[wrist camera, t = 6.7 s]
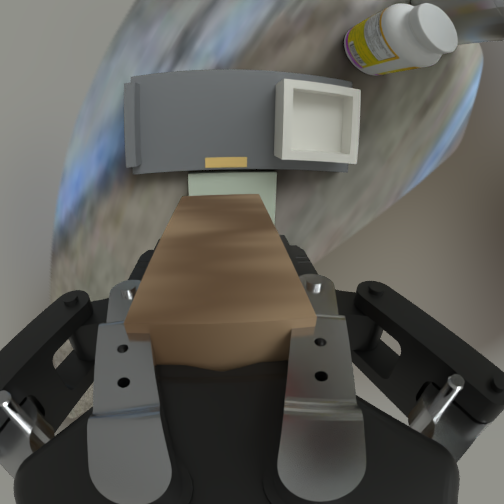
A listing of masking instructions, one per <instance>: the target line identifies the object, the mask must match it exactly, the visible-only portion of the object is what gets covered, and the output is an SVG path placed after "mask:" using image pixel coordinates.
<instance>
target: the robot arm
mask: <svg viewBox="0 0 504 504" xmlns="http://www.w3.org/2000/svg"><path fill="white" fill-rule="evenodd" d="M423 3H430V4H433V5H435V6H437V7H439V8H440V9H441V10H442V11H443V12H445V14H446V15H447V16H448V17H449V18H450V20H451V21H452V23H453V25H454V27H455V30H456V33H457V37H458V44H457V45H461V44H469V43H479V42H491V41H503V40H504V0H411V5H412V6H418V5H420V4H423ZM279 236H280V238H281V240H282V242H283V244H284V247H285V249H286V251H287V253H288V255H289V257H290V259H291V261H292V264H293V266H294V268H295V270H296V272H297V274H298V276H299V279H300V281H301V283H302V285H303V287H304V289H305V292H306V294H307V296H308V298H309V300H310V303H311V305H312V307H313V309H314V312H315V314H316V316H317V320H316V325H315V326H314V327H304V328H293V329H292V330H291V337H290V345H289V355H288V360H284V361H273V362H260V363H256V364H252V365H248V366H244V367H240V368H236V369H232V370H228V371H214V370H209V369H203V368H198V367H193V366H188V365H158V364H156V354H155V350H154V347H153V344H152V340H151V337H150V333H126V330H125V327H124V321H125V319H126V316H127V314H128V311H129V309H130V306H131V304H132V301H133V299H134V297H135V294H136V292H137V290H138V287H139V285H140V283H141V280H142V278H143V276H144V274H145V271H146V269H147V267H148V265H149V262H150V260H151V258H152V256H153V254H154V252H155V250H156V247H157V245H158V243H159V241H160V239H159V240H158V242H157V245H156V247H155V249H154V250H148V251H146V252H145V253H144V254H142V255H141V256H140V258H139V260H138V263H137V264H136V266H135V268H134V269H133V271H132V273H131V275H130V277H129V279H128V281H124V282H121V283H119V284H117V285H115V286H114V287H113V288H112V289H111V291H110V295H109V298H107V299H103V300H98V301H93V302H91V301H90V298H89V295H88V294H87V293H86V292H84V291H80V290H76V291H71V292H68V293H66V294H64V295H62V296H61V297H59V298H58V299H57V300H56V301H55V302H53V303H52V304H51V305H50V306H49V307H48V308H46V309H45V310H44V311H43V312H42V313H41V314H39V315H38V316H37V317H36V318H35V319H34V320H33V321H32V322H30V323H29V324H28V325H27V326H26V327H25V328H24V329H23V330H22V331H21V332H20V333H18V334H17V335H16V336H15V337H14V338H13V339H12V340H11V341H10V342H9V343H8V344H7V345H6V346H5V347H4V348H3V349H2V350H1V351H0V464H1V465H2V466H3V467H4V469H5V470H6V471H7V472H8V473H9V474H10V475H11V476H12V477H13V478H14V497H15V500H16V504H457V502H458V490H459V480H460V478H459V470H458V466H457V461H458V460H459V459H460V458H461V457H462V456H463V454H464V453H465V452H466V451H467V449H468V448H469V447H470V446H471V444H472V443H473V442H474V440H475V439H476V438H477V437H478V436H479V435H480V434H481V433H482V432H483V431H484V430H485V429H486V428H487V427H488V426H489V425H490V424H491V423H492V421H494V419H495V418H496V417H497V416H498V415H499V414H500V413H501V412H502V411H503V410H504V372H503V371H501V370H500V369H499V368H498V367H497V366H495V365H494V364H493V363H491V362H490V361H489V360H488V359H486V358H485V357H484V356H483V355H482V354H480V353H479V352H478V351H476V350H475V349H474V348H472V347H471V346H470V345H469V344H467V343H466V342H465V341H463V340H462V339H461V338H459V337H458V336H457V335H455V334H454V333H453V332H451V331H450V330H449V329H447V328H446V327H445V326H443V325H442V324H441V323H439V322H438V321H437V320H435V319H434V318H433V317H431V316H430V315H428V314H427V313H426V312H424V311H423V310H421V309H420V308H418V307H417V306H416V305H414V304H413V303H412V302H410V301H409V300H407V299H406V298H404V297H403V296H401V295H400V294H399V293H397V292H396V291H394V290H393V289H391V288H390V287H389V286H387V285H385V284H383V283H380V282H376V281H365V282H362V283H360V284H359V285H358V287H357V291H356V293H355V292H346V291H339V290H335V287H334V284H333V282H332V281H331V280H330V279H328V278H327V277H325V276H321V275H318V274H317V272H316V270H315V268H314V267H313V265H312V263H311V262H310V260H309V258H308V257H307V255H306V253H305V251H304V250H303V249H301V248H300V247H298V246H296V245H294V246H290V245H289V243H288V241H287V239H286V237H285V236H284V235H279ZM383 330H385V331H386V332H387V333H388V334H389V335H391V336H392V337H393V338H394V339H395V340H397V341H398V343H399V344H400V346H401V355H400V356H399V355H398V354H396V353H395V352H394V351H393V350H392V349H391V348H390V347H388V346H387V345H386V344H385V343H384V342H383V341H382V340H380V338H381V335H382V332H383ZM68 339H69V341H70V343H71V345H72V347H73V349H74V350H73V351H72V352H71V353H70V354H69V355H68V356H67V357H66V358H65V360H64V361H63V362H62V363H61V364H60V365H59V366H58V367H57V368H56V370H55V368H54V366H53V361H52V360H53V356H54V354H55V352H56V351H57V350H58V349H59V348H60V347H61V346H62V345H63V344H64V343H65V342H66V341H67V340H68ZM352 362H353V363H354V364H355V365H356V366H357V367H358V368H359V369H360V370H361V371H362V372H363V373H364V374H365V375H366V376H367V377H368V378H369V379H370V380H371V381H372V382H373V383H374V384H375V385H376V386H377V387H378V388H379V389H380V390H381V391H382V392H383V393H384V394H385V395H386V396H387V397H388V398H389V399H390V400H391V401H392V402H393V403H394V404H395V405H396V406H397V407H398V408H399V409H400V410H401V411H402V412H403V413H404V414H405V415H406V416H407V417H408V423H409V426H410V427H409V426H407V425H405V424H404V423H402V422H400V421H399V420H397V419H395V418H393V417H392V416H390V415H388V414H387V413H385V412H383V411H381V410H380V409H378V408H376V407H375V406H373V405H371V404H370V403H368V402H367V401H365V400H363V399H362V398H360V397H358V396H357V395H356V392H355V383H354V375H353V367H352ZM93 381H94V390H93V407H92V408H90V409H89V410H88V411H87V412H85V413H84V414H83V415H82V416H80V417H79V418H78V419H77V420H75V421H74V422H73V423H71V424H70V425H69V426H68V427H66V428H65V429H64V430H62V431H61V432H60V433H59V434H57V435H56V436H55V432H56V430H57V429H58V428H59V426H60V425H61V424H62V422H63V421H64V420H65V418H66V417H67V416H68V414H69V413H70V412H71V410H72V409H73V408H74V406H75V405H76V404H77V402H78V401H79V400H80V398H81V397H82V396H83V394H84V393H85V392H86V390H87V389H88V388H89V387H90V385H91V384H92V383H93Z"/></svg>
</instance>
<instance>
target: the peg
mask: <svg viewBox="0 0 504 504" xmlns="http://www.w3.org/2000/svg"><path fill="white" fill-rule="evenodd" d="M316 320H317V316H316V314H315V312H314V309H313V307H312V305H311V303H310V300H309V298H308V296H307V294H306V292H305V289H304V287H303V285H302V283H301V281H300V279H299V276H298V274H297V272H296V270H295V268H294V266H293V264H292V261H291V259H290V257H289V255H288V253H287V251H286V249H285V247H284V244H283V242H282V240H281V238H280V236H279V234H278V232H277V230H276V228H275V226H274V224H273V222H272V220H271V217H270V215H269V213H268V211H267V209H266V207H265V205H264V203H263V201H262V199H261V197H260V195H259V194H229V195H199V196H182V198H181V199H180V201H179V203H178V205H177V207H176V209H175V211H174V213H173V215H172V217H171V219H170V221H169V223H168V225H167V227H166V229H165V231H164V233H163V235H162V237H161V239H160V241H159V243H158V245H157V247H156V250H155V252H154V254H153V256H152V258H151V260H150V262H149V265H148V267H147V269H146V271H145V274H144V276H143V278H142V280H141V283H140V285H139V287H138V290H137V292H136V294H135V297H134V299H133V301H132V304H131V306H130V309H129V311H128V314H127V316H126V319H125V321H124V327H125V330H126V333H150V337H151V340H152V344H153V347H154V350H155V354H156V364H158V365H188V366H193V367H198V368H203V369H209V370H214V371H228V370H232V369H236V368H240V367H244V366H248V365H252V364H256V363H260V362H273V361H284V360H288V355H289V345H290V337H291V330H292V329H293V328H304V327H314V326H315V325H316Z"/></svg>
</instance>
